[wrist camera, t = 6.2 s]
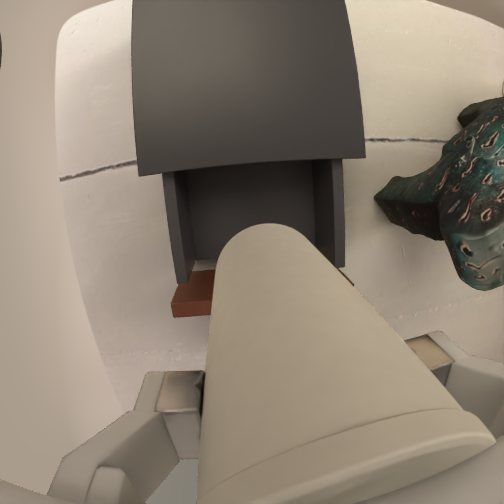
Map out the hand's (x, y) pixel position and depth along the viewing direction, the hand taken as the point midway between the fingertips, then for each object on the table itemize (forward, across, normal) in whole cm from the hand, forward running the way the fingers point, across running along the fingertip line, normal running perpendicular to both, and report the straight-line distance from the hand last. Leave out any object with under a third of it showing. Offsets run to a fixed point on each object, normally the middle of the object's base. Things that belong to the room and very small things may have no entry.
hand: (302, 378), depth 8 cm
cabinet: (+22, 0, -13) cm, 25 cm away
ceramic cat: (+22, -19, -6) cm, 30 cm away
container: (+8, 0, 0) cm, 8 cm away
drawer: (+21, 0, 0) cm, 21 cm away
